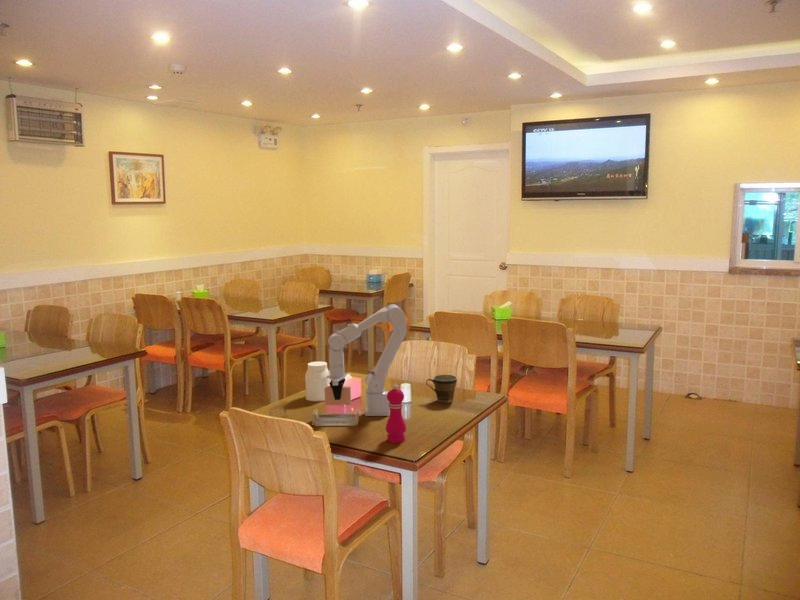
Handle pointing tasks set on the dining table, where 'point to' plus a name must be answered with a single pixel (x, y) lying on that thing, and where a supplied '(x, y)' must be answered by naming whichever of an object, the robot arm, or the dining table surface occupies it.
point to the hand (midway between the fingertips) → (338, 398)
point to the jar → (316, 381)
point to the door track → (335, 419)
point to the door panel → (343, 400)
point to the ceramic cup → (444, 387)
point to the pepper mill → (395, 416)
